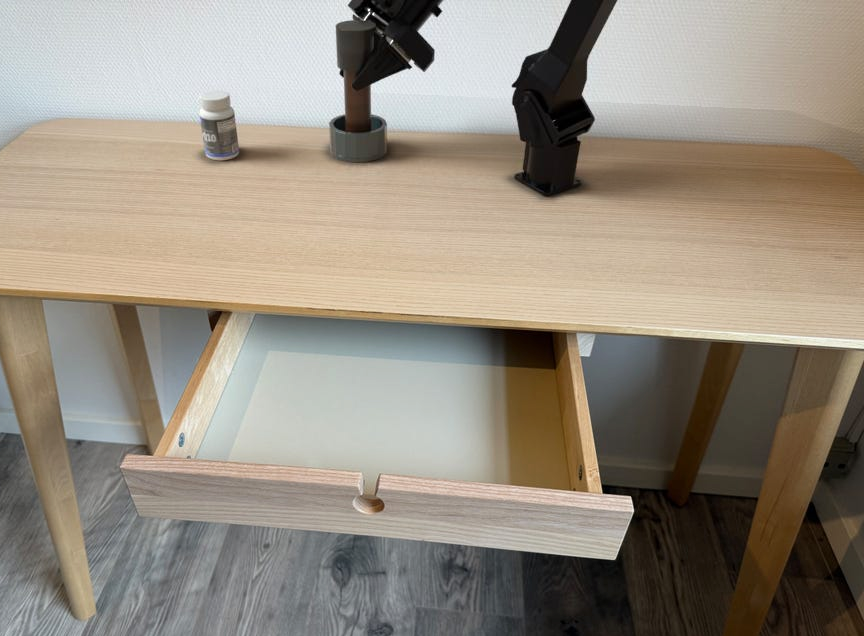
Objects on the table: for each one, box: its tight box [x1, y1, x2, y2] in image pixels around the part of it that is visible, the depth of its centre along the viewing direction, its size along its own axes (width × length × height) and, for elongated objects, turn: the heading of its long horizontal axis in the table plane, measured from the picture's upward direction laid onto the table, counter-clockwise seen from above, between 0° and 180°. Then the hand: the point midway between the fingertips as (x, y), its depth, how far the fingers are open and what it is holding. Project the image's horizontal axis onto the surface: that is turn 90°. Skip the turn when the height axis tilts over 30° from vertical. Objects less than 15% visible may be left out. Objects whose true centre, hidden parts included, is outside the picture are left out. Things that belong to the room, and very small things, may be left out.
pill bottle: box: [198, 89, 240, 161], centre depth 98 cm, size 5×5×8 cm
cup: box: [328, 113, 388, 163], centre depth 101 cm, size 8×8×4 cm
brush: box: [335, 19, 376, 133], centre depth 96 cm, size 5×5×14 cm
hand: (347, 82), depth 95 cm, fingers closed on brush, 5 cm apart
